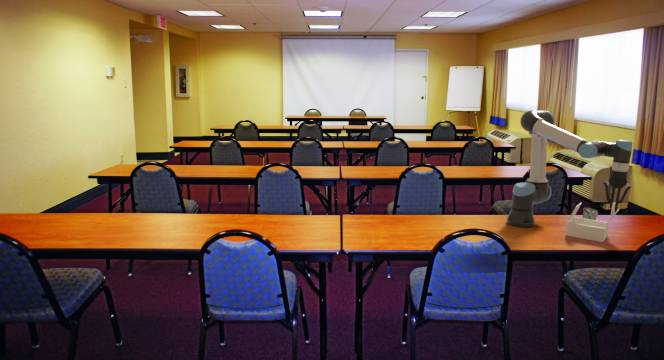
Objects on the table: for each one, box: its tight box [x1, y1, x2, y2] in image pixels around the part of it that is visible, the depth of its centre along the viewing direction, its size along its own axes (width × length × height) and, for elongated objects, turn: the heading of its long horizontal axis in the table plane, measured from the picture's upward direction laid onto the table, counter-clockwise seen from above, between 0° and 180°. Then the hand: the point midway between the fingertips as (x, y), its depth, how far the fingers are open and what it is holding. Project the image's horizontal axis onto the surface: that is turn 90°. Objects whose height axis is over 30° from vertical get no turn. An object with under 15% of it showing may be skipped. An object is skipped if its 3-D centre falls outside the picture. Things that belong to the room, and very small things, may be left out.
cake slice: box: [582, 207, 599, 221], centre depth 290 cm, size 12×6×10 cm, turn 168°
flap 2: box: [605, 208, 620, 227], centre depth 266 cm, size 9×13×1 cm
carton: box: [565, 216, 610, 243], centre depth 273 cm, size 18×15×8 cm
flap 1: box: [567, 201, 582, 222], centre depth 276 cm, size 9×13×1 cm
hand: (612, 214), depth 265 cm, fingers closed
